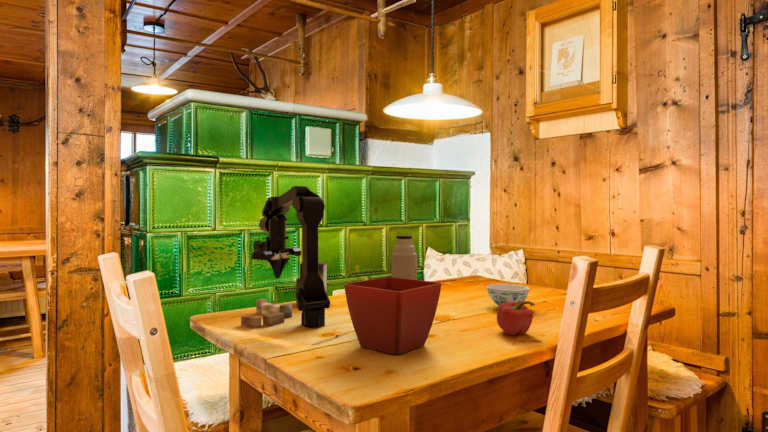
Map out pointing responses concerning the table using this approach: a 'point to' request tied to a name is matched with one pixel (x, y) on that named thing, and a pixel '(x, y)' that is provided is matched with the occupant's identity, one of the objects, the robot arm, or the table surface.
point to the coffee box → (320, 273)
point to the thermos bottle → (404, 258)
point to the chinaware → (507, 293)
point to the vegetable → (514, 317)
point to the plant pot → (392, 312)
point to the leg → (273, 308)
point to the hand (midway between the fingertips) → (277, 278)
